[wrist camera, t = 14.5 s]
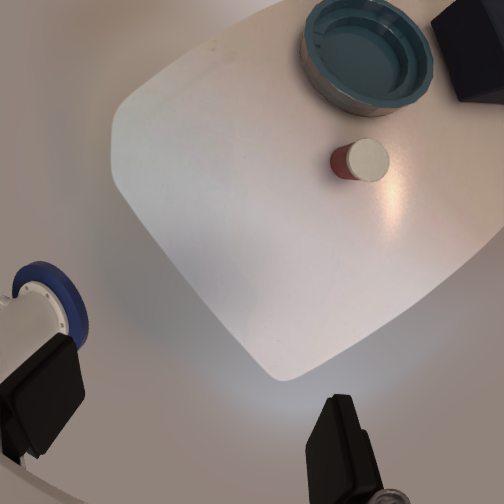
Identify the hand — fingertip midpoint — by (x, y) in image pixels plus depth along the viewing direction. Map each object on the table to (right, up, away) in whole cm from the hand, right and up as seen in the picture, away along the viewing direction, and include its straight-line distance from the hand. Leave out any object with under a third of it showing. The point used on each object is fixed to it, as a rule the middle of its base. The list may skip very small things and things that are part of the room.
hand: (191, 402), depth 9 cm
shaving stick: (+13, +16, +24) cm, 32 cm away
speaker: (+39, +34, +18) cm, 55 cm away
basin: (+16, +29, +21) cm, 39 cm away
